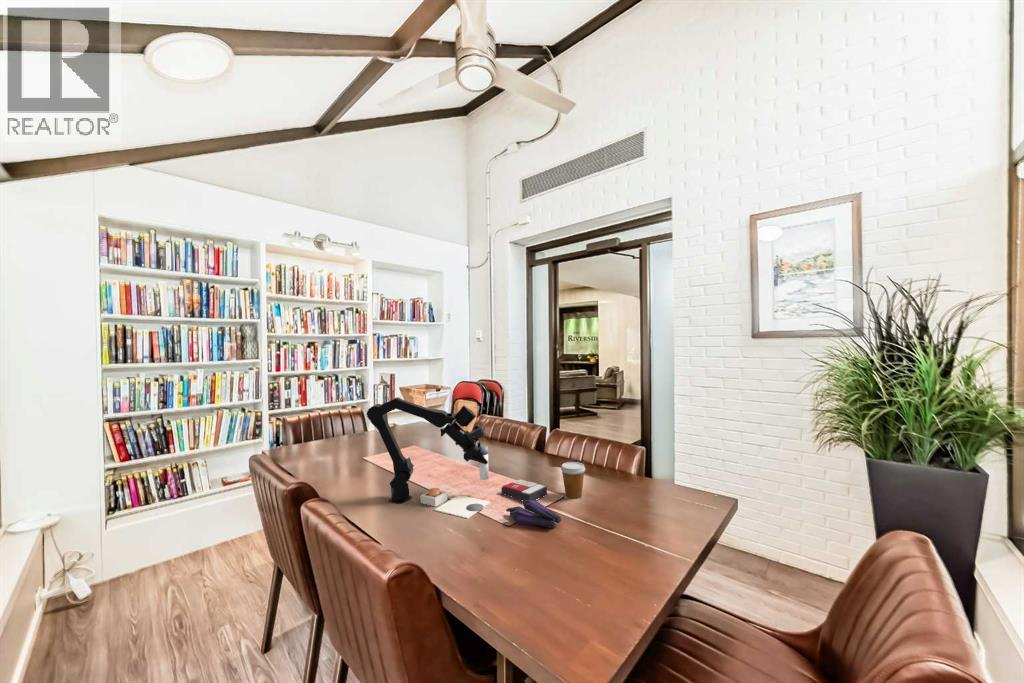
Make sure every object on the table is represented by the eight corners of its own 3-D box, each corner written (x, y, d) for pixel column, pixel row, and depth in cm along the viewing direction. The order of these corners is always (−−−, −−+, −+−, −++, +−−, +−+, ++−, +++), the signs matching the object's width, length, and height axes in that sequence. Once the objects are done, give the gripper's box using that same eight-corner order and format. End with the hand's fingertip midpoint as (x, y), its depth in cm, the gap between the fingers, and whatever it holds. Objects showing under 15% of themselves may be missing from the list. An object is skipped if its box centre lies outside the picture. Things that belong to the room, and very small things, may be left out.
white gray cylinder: (477, 479, 161) (476, 447, 161) (482, 476, 164) (482, 445, 164) (485, 480, 159) (484, 448, 159) (490, 477, 162) (490, 446, 162)
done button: (425, 497, 156) (425, 491, 156) (433, 493, 160) (433, 487, 160) (434, 499, 154) (434, 492, 154) (442, 495, 158) (442, 488, 158)
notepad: (434, 510, 149) (434, 509, 149) (458, 496, 162) (458, 494, 162) (469, 519, 141) (469, 517, 141) (492, 503, 154) (492, 501, 154)
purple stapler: (565, 505, 136) (517, 488, 148) (547, 522, 127) (497, 502, 139) (565, 525, 137) (518, 506, 149) (547, 542, 128) (498, 521, 140)
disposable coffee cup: (590, 497, 157) (589, 467, 157) (569, 502, 153) (568, 470, 153) (577, 489, 166) (577, 460, 165) (557, 493, 162) (556, 463, 162)
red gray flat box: (519, 478, 171) (546, 484, 161) (520, 488, 171) (547, 495, 161) (500, 485, 163) (528, 493, 153) (501, 496, 163) (529, 504, 153)
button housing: (420, 503, 156) (420, 495, 156) (433, 496, 162) (432, 489, 162) (435, 506, 152) (435, 498, 152) (447, 499, 159) (447, 492, 159)
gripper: (471, 425, 152) (501, 453, 153) (473, 415, 171) (500, 441, 171) (450, 447, 152) (481, 475, 152) (455, 435, 170) (482, 460, 171)
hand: (487, 461), depth 162 cm, fingers closed on white gray cylinder, 4 cm apart
